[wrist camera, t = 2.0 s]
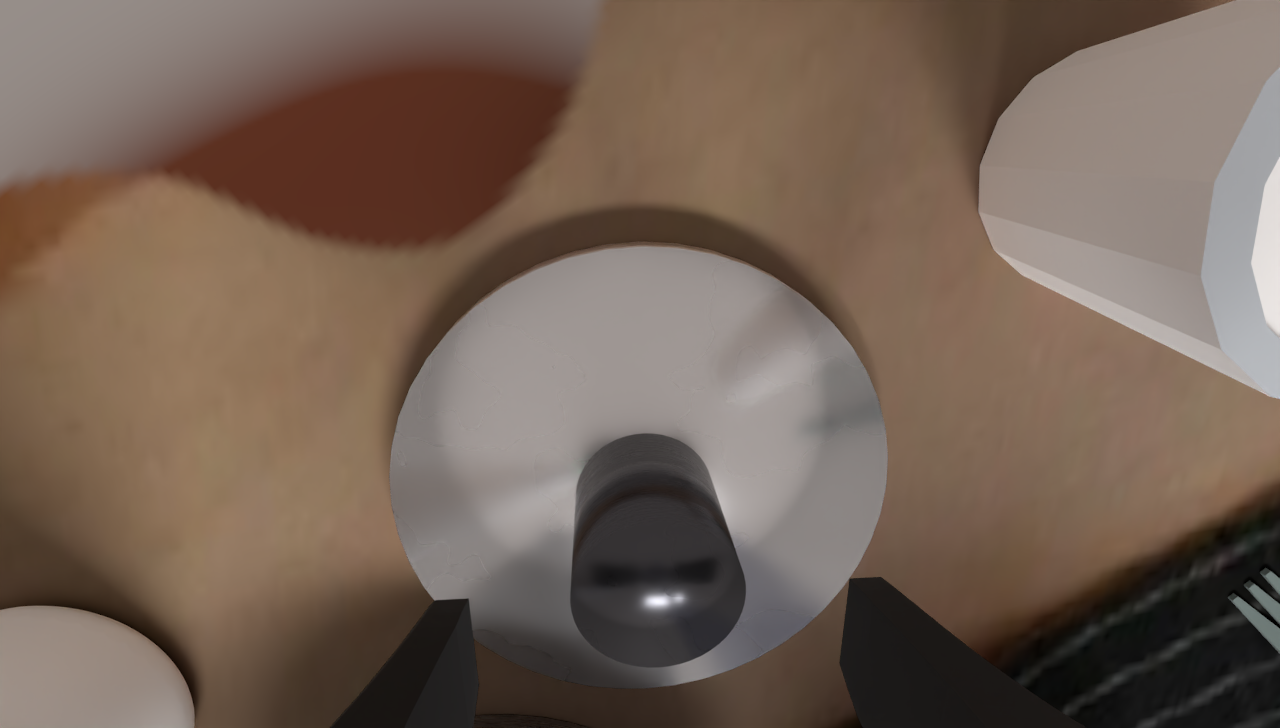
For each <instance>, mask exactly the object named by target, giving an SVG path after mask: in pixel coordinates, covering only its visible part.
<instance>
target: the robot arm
mask: <svg viewBox="0 0 1280 728" xmlns="http://www.w3.org/2000/svg"><path fill="white" fill-rule="evenodd" d="M840 666H841V669H842V672H843V676H844V679H845V682H846V685H847V688H848V691H849V694H850V697H851V699H852V702H853V705H854V708H855V711H856V714H857V716H858V719H859V721H860V723H861V725H862V727H863V728H1086V727H1084V726H1083V725H1081V724H1080V723H1078V722H1076V721H1075V720H1073V719H1071V718H1070V717H1068V716H1067V715H1065V714H1063V713H1062V712H1060V711H1059V710H1057V709H1055V708H1054V707H1052V706H1051V705H1049V704H1048V703H1046V702H1045V701H1043V700H1042V699H1040V698H1039V697H1037V696H1036V695H1034V694H1033V693H1031V692H1030V691H1029V690H1027V689H1026V688H1024V687H1023V686H1021V685H1020V684H1019V683H1017V682H1016V681H1014V680H1013V679H1012V678H1010V677H1009V676H1007V675H1006V674H1004V673H1003V672H1002V671H1000V670H999V669H997V668H996V667H995V666H993V665H992V664H991V663H989V662H988V661H987V660H985V659H984V658H983V657H981V656H980V655H979V654H977V653H976V652H975V651H973V650H972V649H971V648H969V647H968V646H967V645H966V644H964V643H963V642H962V641H960V640H959V639H958V638H957V637H955V636H954V635H953V634H952V633H950V632H949V631H948V630H946V629H945V628H944V627H943V626H941V625H940V624H939V623H938V622H936V621H935V620H934V619H933V618H932V617H930V616H929V615H928V614H927V613H925V612H924V611H923V610H922V609H920V608H919V607H918V606H917V605H915V604H914V603H913V602H912V601H911V600H909V599H908V598H907V597H906V596H904V595H903V594H902V593H901V592H899V591H898V590H897V589H896V588H894V587H893V586H892V585H891V584H889V583H888V582H887V581H885V580H884V579H883V578H881V577H873V578H853V579H850V581H849V589H848V597H847V605H846V614H845V622H844V630H843V639H842V647H841V655H840ZM478 688H479V682H478V673H477V665H476V656H475V648H474V639H473V631H472V622H471V614H470V605H469V598H467V599H447V600H435V601H434V602H433V603H432V604H431V605H430V606H429V607H428V609H427V610H426V611H425V613H424V614H423V615H422V617H421V618H420V619H419V621H418V622H417V623H416V625H415V626H414V627H413V629H412V630H411V631H410V633H409V634H408V635H407V637H406V638H405V639H404V640H403V642H402V643H401V644H400V646H399V647H398V648H397V649H396V651H395V652H394V653H393V655H392V656H391V657H390V658H389V660H388V661H387V662H386V663H385V664H384V666H383V667H382V668H381V669H380V670H379V672H378V673H377V674H376V675H375V677H374V678H373V679H372V680H371V681H370V683H369V684H368V685H367V686H366V687H365V689H364V690H363V691H362V692H361V693H360V695H359V696H358V697H357V698H356V699H355V700H354V701H353V702H352V704H351V705H350V706H349V707H348V708H347V709H346V710H345V711H344V712H343V714H342V715H341V716H340V717H339V718H338V719H337V720H336V721H335V722H334V723H333V725H332V726H331V727H330V728H473V724H474V717H475V710H476V703H477V695H478Z"/></svg>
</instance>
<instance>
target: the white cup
mask: <svg viewBox="0 0 1280 728" xmlns="http://www.w3.org/2000/svg"><path fill="white" fill-rule="evenodd" d="M978 212H979V215H980V217H981V220H982V222H983V225H984V227H985V230H986V232H987V235H988V237H989V240H990V242H991V245H992V247H993V250H994V251H995V252H996V253H998V254H999V255H1000V256H1001V257H1002V258H1003V259H1004V260H1005V261H1007V262H1008V263H1009V264H1010V265H1011V266H1012V267H1013V268H1014V269H1016V270H1017V271H1018V272H1019V273H1020V274H1021V275H1023V276H1025V277H1027V278H1029V279H1031V280H1033V281H1035V282H1037V283H1039V284H1041V285H1043V286H1045V287H1047V288H1049V289H1051V290H1053V291H1055V292H1057V293H1059V294H1061V295H1064V296H1066V297H1068V298H1070V299H1072V300H1074V301H1076V302H1078V303H1080V304H1082V305H1084V306H1086V307H1088V308H1090V309H1092V310H1094V311H1096V312H1098V313H1100V314H1102V315H1104V316H1106V317H1109V318H1111V319H1113V320H1115V321H1117V322H1119V323H1121V324H1123V325H1125V326H1127V327H1129V328H1131V329H1133V330H1135V331H1137V332H1139V333H1141V334H1143V335H1145V336H1147V337H1149V338H1151V339H1153V340H1156V341H1158V342H1160V343H1162V344H1164V345H1166V346H1168V347H1170V348H1172V349H1174V350H1176V351H1178V352H1180V353H1182V354H1184V355H1186V356H1188V357H1190V358H1192V359H1194V360H1196V361H1198V362H1201V363H1203V364H1205V365H1207V366H1209V367H1211V368H1213V369H1215V370H1217V371H1219V372H1221V373H1223V374H1225V375H1227V376H1229V377H1231V378H1233V379H1235V380H1237V381H1239V382H1241V383H1243V384H1246V385H1248V386H1250V387H1252V388H1254V389H1256V390H1258V391H1260V392H1262V393H1264V394H1266V395H1268V396H1270V397H1274V398H1278V399H1280V0H1235V1H1232V2H1229V3H1225V4H1222V5H1219V6H1216V7H1213V8H1210V9H1207V10H1204V11H1201V12H1197V13H1194V14H1191V15H1188V16H1185V17H1182V18H1179V19H1176V20H1172V21H1169V22H1166V23H1163V24H1160V25H1157V26H1154V27H1151V28H1147V29H1144V30H1141V31H1138V32H1135V33H1132V34H1129V35H1126V36H1123V37H1119V38H1116V39H1113V40H1110V41H1107V42H1104V43H1101V44H1098V45H1094V46H1091V47H1088V48H1085V49H1082V50H1079V51H1076V52H1075V53H1073V54H1071V55H1070V56H1068V57H1066V58H1065V59H1063V60H1061V61H1060V62H1058V63H1056V64H1055V65H1053V66H1051V67H1050V68H1048V69H1046V70H1045V71H1043V72H1041V73H1040V74H1038V75H1036V76H1035V77H1033V78H1032V79H1031V80H1030V81H1029V83H1028V84H1027V85H1026V86H1025V87H1024V89H1023V90H1022V91H1021V92H1020V93H1019V95H1018V96H1017V97H1016V98H1015V99H1014V100H1013V102H1012V103H1011V104H1010V105H1009V106H1008V108H1007V109H1006V110H1005V111H1004V112H1003V114H1002V115H1001V116H1000V117H999V118H998V121H997V123H996V126H995V128H994V131H993V133H992V136H991V139H990V141H989V144H988V146H987V149H986V151H985V154H984V156H983V159H982V161H981V164H980V173H979V206H978Z"/></svg>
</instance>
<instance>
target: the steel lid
mask: <svg viewBox="0 0 1280 728" xmlns="http://www.w3.org/2000/svg"><path fill="white" fill-rule="evenodd" d="M887 464H888V452H887V440H886V429H885V424H884V420H883V416H882V412H881V408H880V403H879V400H878V397H877V395H876V392H875V390H874V387H873V385H872V382H871V380H870V377H869V375H868V373H867V371H866V369H865V368H864V366H863V364H862V362H861V361H860V359H859V357H858V356H857V354H856V352H855V351H854V349H853V347H852V346H851V345H850V343H849V342H848V341H847V340H846V338H845V337H844V336H843V335H842V334H841V332H840V331H839V330H838V329H837V327H836V326H835V325H834V324H833V323H832V322H831V321H830V320H829V319H828V318H827V317H826V316H825V315H824V314H823V313H822V312H821V311H819V310H818V309H817V308H816V307H815V306H814V305H813V304H812V303H811V302H810V301H808V300H807V299H806V298H805V297H803V296H802V295H801V294H799V293H798V292H797V291H795V290H794V289H792V288H791V287H789V286H788V285H786V284H785V283H783V282H782V281H780V280H779V279H777V278H776V277H774V276H773V275H771V274H770V273H768V272H765V271H763V270H761V269H759V268H757V267H755V266H753V265H751V264H749V263H747V262H745V261H743V260H741V259H738V258H735V257H731V256H728V255H725V254H722V253H719V252H716V251H713V250H710V249H705V248H700V247H694V246H689V245H683V244H678V243H664V242H643V241H639V242H627V243H615V244H605V245H600V246H595V247H591V248H586V249H582V250H577V251H573V252H569V253H566V254H564V255H561V256H558V257H555V258H553V259H550V260H547V261H544V262H542V263H539V264H537V265H535V266H533V267H531V268H529V269H527V270H525V271H523V272H521V273H519V274H518V275H516V276H514V277H512V278H510V279H508V280H506V281H505V282H504V283H502V284H501V285H499V286H498V287H497V288H495V289H494V290H492V291H491V292H490V293H488V294H487V295H485V296H484V297H483V298H481V299H480V300H479V301H478V302H476V303H475V304H474V305H473V306H472V307H471V308H470V309H469V310H468V311H467V312H466V313H465V314H464V315H463V316H462V317H461V318H460V319H458V320H457V321H456V322H455V324H454V325H453V326H452V327H451V329H450V330H449V331H448V332H447V334H446V335H445V336H444V337H443V339H442V340H441V341H440V342H439V344H438V345H437V346H436V347H435V349H434V350H433V351H432V353H431V354H430V355H429V357H428V358H427V359H426V361H425V363H424V364H423V366H422V368H421V370H420V371H419V373H418V375H417V376H416V378H415V380H414V382H413V383H412V385H411V387H410V389H409V392H408V394H407V397H406V399H405V402H404V404H403V407H402V409H401V412H400V414H399V417H398V421H397V426H396V430H395V434H394V439H393V443H392V449H391V463H390V476H389V478H390V490H391V503H392V509H393V514H394V518H395V522H396V527H397V531H398V535H399V537H400V540H401V542H402V545H403V548H404V550H405V553H406V555H407V558H408V560H409V562H410V564H411V566H412V567H413V569H414V571H415V573H416V574H417V576H418V578H419V580H420V581H421V583H422V585H423V586H424V588H425V589H426V590H427V592H428V593H429V594H430V596H431V597H432V598H433V599H434V601H435V600H447V599H467V598H469V605H470V614H471V622H472V631H473V638H474V639H475V640H476V641H478V642H479V643H480V644H482V645H483V646H485V647H486V648H488V649H490V650H491V651H493V652H495V653H496V654H498V655H500V656H501V657H503V658H505V659H507V660H509V661H511V662H513V663H515V664H518V665H520V666H522V667H524V668H527V669H529V670H531V671H533V672H536V673H540V674H543V675H546V676H549V677H552V678H555V679H558V680H562V681H567V682H572V683H577V684H582V685H587V686H595V687H606V688H616V689H626V688H653V687H662V686H672V685H678V684H682V683H687V682H692V681H696V680H701V679H705V678H708V677H711V676H714V675H717V674H720V673H723V672H726V671H729V670H732V669H734V668H736V667H738V666H741V665H743V664H745V663H747V662H750V661H752V660H754V659H756V658H758V657H760V656H762V655H763V654H765V653H767V652H769V651H770V650H772V649H774V648H776V647H777V646H779V645H781V644H782V643H783V642H785V641H786V640H788V639H789V638H790V637H792V636H793V635H794V634H796V633H797V632H799V631H800V630H801V629H803V628H804V627H805V626H806V625H807V624H808V623H809V622H811V621H812V620H813V619H814V618H815V617H816V616H817V615H818V614H819V613H820V612H822V611H823V610H824V609H825V608H826V606H827V605H828V604H829V603H830V602H831V601H832V600H833V598H834V597H835V596H836V595H837V594H838V593H839V591H840V590H841V589H842V588H843V587H844V585H845V584H846V582H847V581H848V579H849V578H850V576H851V575H852V573H853V572H854V570H855V569H856V567H857V566H858V565H859V563H860V561H861V559H862V557H863V555H864V553H865V551H866V549H867V547H868V545H869V543H870V541H871V539H872V536H873V533H874V530H875V527H876V525H877V522H878V519H879V516H880V513H881V508H882V504H883V499H884V494H885V489H886V481H887Z"/></svg>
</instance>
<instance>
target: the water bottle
mask: <svg viewBox="0 0 1280 728" xmlns="http://www.w3.org/2000/svg"><path fill="white" fill-rule="evenodd" d="M194 724H195V716H194V706H193V701H192V697H191V694H190V691H189V688H188V686H187V684H186V682H185V680H184V678H183V676H182V674H181V673H180V671H179V670H178V668H177V667H176V665H175V664H174V663H173V661H172V660H171V659H170V658H169V657H168V656H167V655H166V654H165V653H164V652H163V651H162V650H161V649H160V648H159V647H158V646H157V645H156V644H155V643H153V642H152V641H151V640H149V639H148V638H147V637H145V636H144V635H142V634H141V633H139V632H137V631H136V630H134V629H132V628H130V627H129V626H127V625H125V624H122V623H120V622H118V621H116V620H113V619H111V618H108V617H105V616H102V615H99V614H96V613H92V612H89V611H84V610H80V609H74V608H68V607H59V606H22V607H14V608H8V609H2V610H0V728H194Z"/></svg>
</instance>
